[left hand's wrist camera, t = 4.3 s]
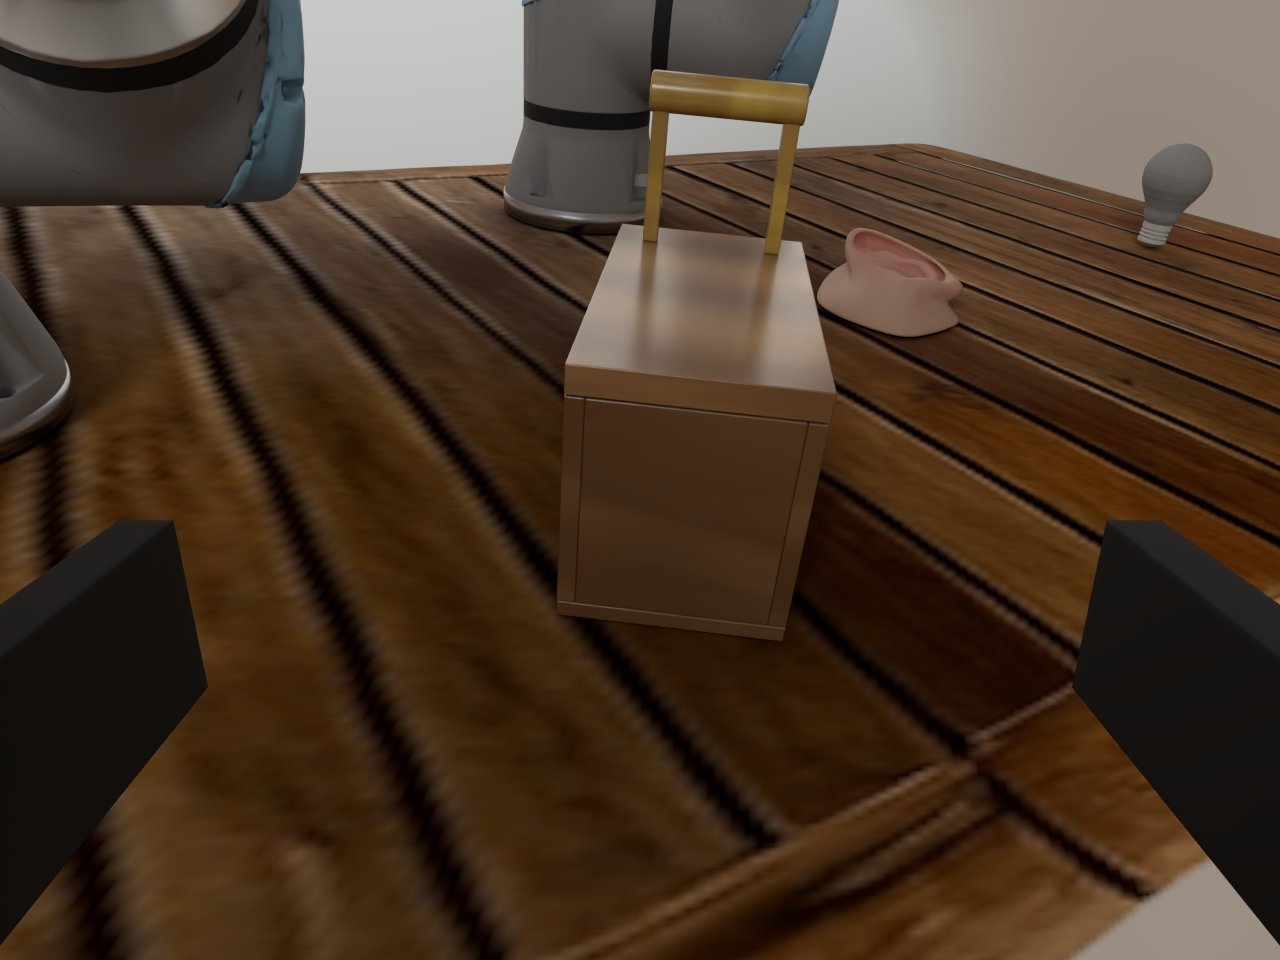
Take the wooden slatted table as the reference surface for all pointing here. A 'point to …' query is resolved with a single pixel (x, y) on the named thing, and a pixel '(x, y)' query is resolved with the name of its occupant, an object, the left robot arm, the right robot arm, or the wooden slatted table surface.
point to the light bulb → (1172, 188)
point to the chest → (683, 515)
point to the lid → (709, 287)
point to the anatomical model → (890, 287)
